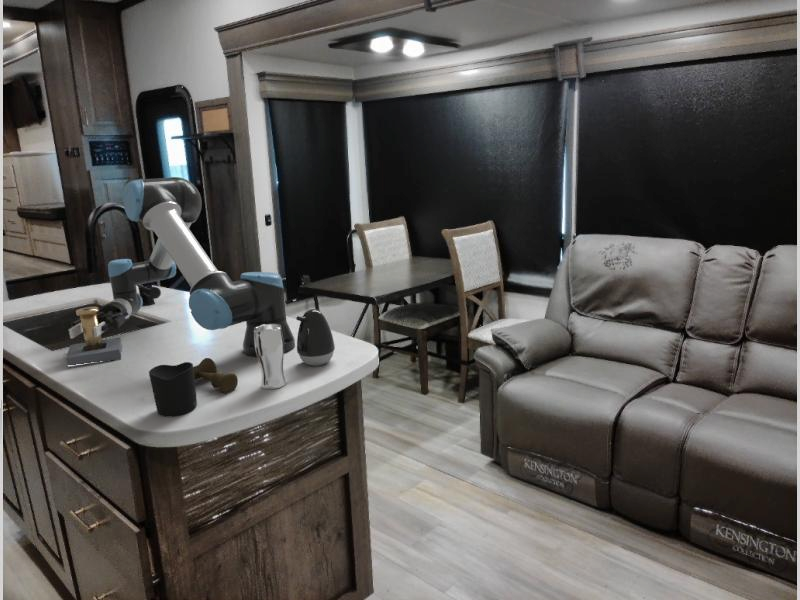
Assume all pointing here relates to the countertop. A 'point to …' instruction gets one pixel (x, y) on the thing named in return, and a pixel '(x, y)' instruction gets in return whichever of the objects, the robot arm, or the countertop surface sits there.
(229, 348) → the countertop surface
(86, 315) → the bushing
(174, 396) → the pen holder
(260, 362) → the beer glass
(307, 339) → the pump dispenser
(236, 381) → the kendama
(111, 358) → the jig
